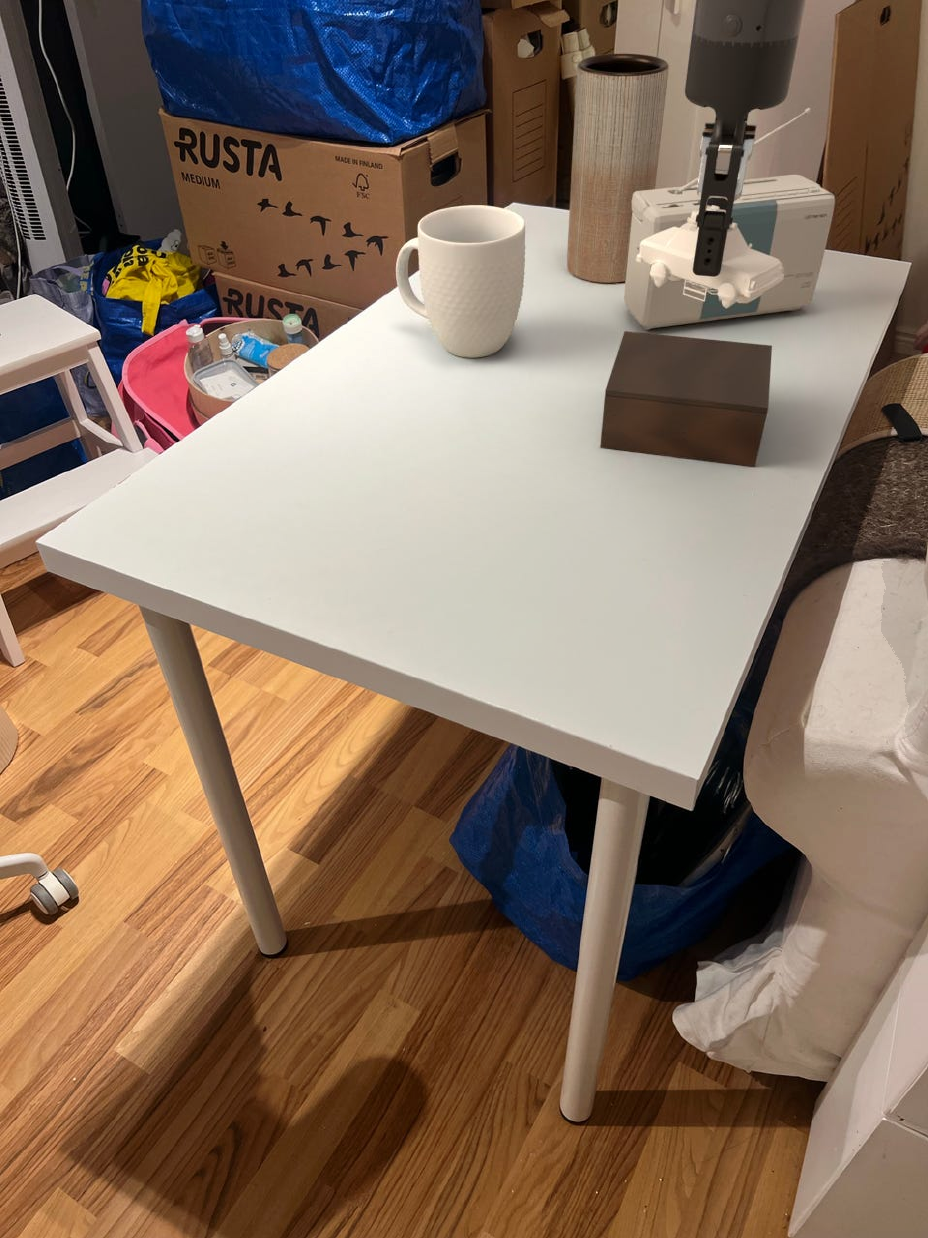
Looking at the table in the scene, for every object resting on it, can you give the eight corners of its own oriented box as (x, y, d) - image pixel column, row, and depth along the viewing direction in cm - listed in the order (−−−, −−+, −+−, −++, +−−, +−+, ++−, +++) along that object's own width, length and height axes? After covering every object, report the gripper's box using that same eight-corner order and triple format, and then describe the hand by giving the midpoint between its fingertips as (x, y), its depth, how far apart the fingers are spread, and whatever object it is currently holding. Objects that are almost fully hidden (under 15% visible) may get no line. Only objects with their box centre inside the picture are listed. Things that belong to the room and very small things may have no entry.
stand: (759, 401, 91) (772, 345, 87) (754, 467, 82) (768, 407, 78) (618, 386, 94) (624, 330, 89) (600, 447, 85) (605, 389, 81)
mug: (375, 346, 101) (364, 225, 92) (427, 309, 108) (421, 193, 99) (493, 376, 96) (493, 250, 87) (540, 334, 103) (544, 214, 94)
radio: (641, 338, 101) (664, 141, 88) (615, 307, 107) (632, 119, 94) (812, 315, 105) (860, 122, 91) (778, 287, 111) (817, 102, 97)
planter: (557, 256, 119) (567, 55, 104) (631, 250, 120) (652, 50, 105) (578, 287, 112) (591, 76, 96) (656, 280, 113) (682, 70, 98)
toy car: (744, 322, 74) (761, 236, 70) (627, 282, 81) (635, 201, 76) (784, 299, 77) (802, 216, 73) (668, 262, 84) (678, 183, 79)
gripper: (799, 49, 60) (751, 294, 71) (800, 9, 70) (758, 229, 81) (683, 45, 61) (654, 286, 73) (701, 7, 72) (673, 223, 83)
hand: (709, 256), depth 77 cm, fingers closed on toy car, 7 cm apart
